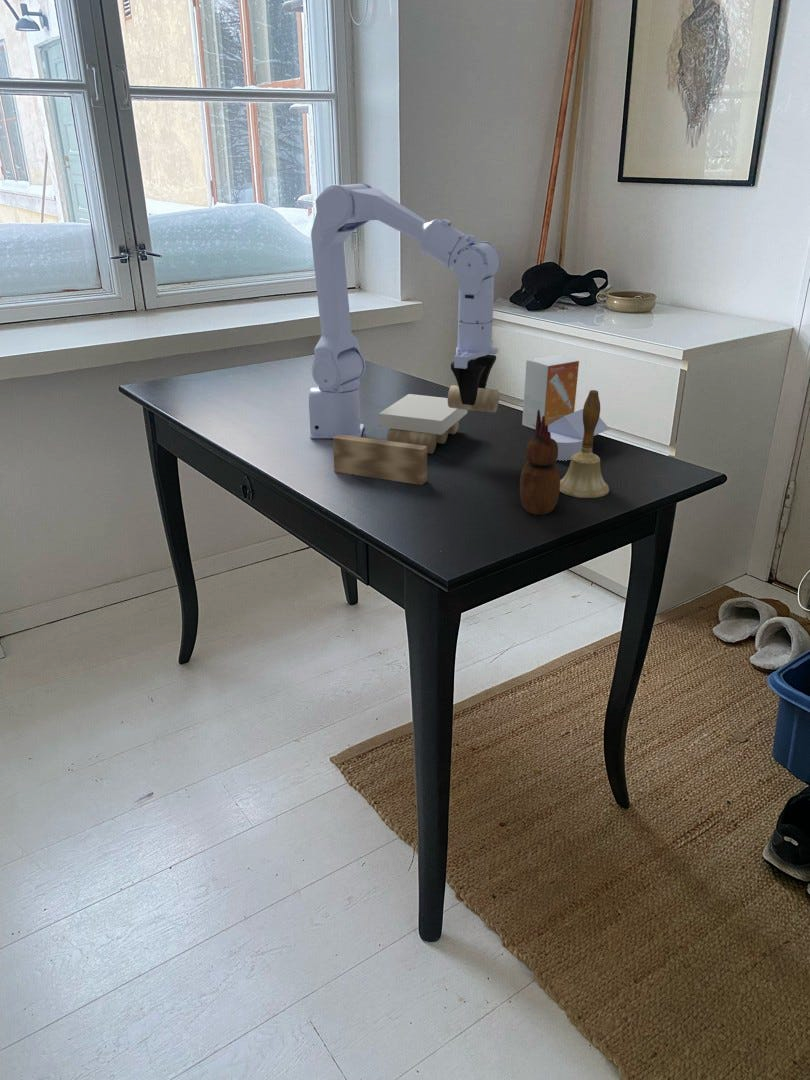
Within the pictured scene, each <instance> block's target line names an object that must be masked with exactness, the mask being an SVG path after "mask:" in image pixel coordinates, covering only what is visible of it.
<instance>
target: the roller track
mask: <svg viewBox="0 0 810 1080" xmlns="http://www.w3.org/2000/svg"><path fill="white" fill-rule="evenodd" d="M459 425H460V420H459V421H457V422H456V423H455V424H454V425H453V426H451V427H450V428H449V429H448V430H447V431H445V432H444V433H443V434H442V435H439V434H431V433H423V432H415V431H407V430H400V429H392V428H388V432H387V436H386V441H393V442H400V443H408V444H416V445H423V446H427V454H434V452H435V450H436V447H437V444H441V445H443V444H445V443H446V441H447V439H448V435H449V434H451V435H455V434H456V433H457V431H458V429H459Z"/></svg>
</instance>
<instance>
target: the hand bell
mask: <svg viewBox="0 0 810 1080" xmlns="http://www.w3.org/2000/svg"><path fill="white" fill-rule="evenodd" d="M582 409H583V425H584V436H583V443H582V447H581V451H580V452H579V453H576V454H574V455H573V456H572V458H571V461H569V466H568V469H567V472H566V473H565V475H564V476H563V477H562V478H560V492H559V493H562V494H563V495H566V496H570V497H573V498H580V499H596V498H601V497H604V496H607V494H609V492H610V488H609V485H608V483H606V481H605V480H604V478H603V476H602V472H601V471H602V470H601V469H602V468H601V458H600V457H599V456H598V455H597V454H595V453H593V447H594V430H595V427H596V425H597V423H598V420H599V417H600V414H601V402H600V396H599V391H598V390H595V389H592V390H589V392H588V394H587V397H586V400H585V401H584V405H583V408H582Z"/></svg>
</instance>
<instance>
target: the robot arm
mask: <svg viewBox="0 0 810 1080" xmlns="http://www.w3.org/2000/svg"><path fill="white" fill-rule="evenodd" d="M315 208H316V213H315V216H314V219H313V224H312V228H311V233H310V238H311V246H312V256H313V266H314V276H315V286H316V295H317V304H318V314H319V325H320V332H321V333H320V334H321V335H320V338H319V340H318V341H317V344H316V345H315V346H314V349H313V353H314V358H313V363H312V367H311V375H312V376H311V377H312V379H313V381H314V382H315V384H316V385H317V386H313V387H310V389H309V393H308V410H309V412H308V413H309V414H308V415H309V428H310V435H309V438H310V439H333V437H335V436H336V435H338V434H340V435H347V436H355V437H362V434H363V430H364V427H365V425H364V424H363V423H361V419H360V418H361V416H360V413H361V412H360V385H361V382H360V378H362V377H363V375H364V373H365V371H366V360H365V358H364V355H363V353H362V352H361V349H360V348H361V347H360V341H359V340H358V339H357V337H355V335H354V334H353V333H352V325H351V313H350V303H349V302H350V301H349V294H348V293H349V290H348V281H347V280H348V279H347V269H346V258H345V257H346V256H345V249H344V247H345V246H344V243H345V241H346V240H347V239H349V237H350V236H351V234H352V233H353V232H354V231H355V230H356V229H358V228H359V227H361V226H363V225H365V224H367V223H368V222H370V221H379V222H381V223H383V224H384V225H386V226H388V227H390V228H393V229H395V231H398V232H400V233H402V234H404V235H406V236H408V237H409V238H412V239H414V240H415V241H417V243H418V248H419V251H420V252H421V253H423V254H424V255H426V256H428V257H429V258H432V259H433V260H435V261H437V262H438V263H440V264H441V265H443V266H445V267H446V268H448V269H450V270H451V271H453V274H454V275H455V277H456V279H457V281H458V306H457V308H458V309H457V310H458V312H457V313H458V314H457V343H456V345H457V346H456V347H455V355H454V358H453V359H454V360H453V361H452V362H451V363H450V370H451V372H452V373H453V376H455V379H456V380H455V381H456V383H457V386H458V387H459V391H460V397H461V401H462V404H466V405H474V404H475V402H476V398H477V392H478V388H485V389H487V388H486V387H487V383H488V380H489V376H490V373H491V370H492V368H493V366H494V364H495V362H496V360H497V356H496V354H498V353H499V348H498V347H493V343H494V342H493V322H494V321H493V319H494V299H495V298H494V296H495V292H494V290H495V289H494V288H495V275H496V274H497V272H499V270H500V267H501V256H500V252H499V251H498V249H497V248H496V247H495V246H494V245H493V244H492V243H491V242H490V241H485V240H483V241H479V242H477V241H476V240H477V239H476V236H475V235H473V234H465V233H464V232H462V231H460V230H458V229H457V228H455V227H453V226H452V221H451V220H449V219H448V218H443V219H438V218H435V219H433V220H431V221H427V220H426V219H424V218H423V217H421V216H420V215H418V214H417V213H415V212H414V211H412V210H411V209H408V208H407V207H406V206H404V205H403V204H401V203H399V202H398V201H396V200H394V199H393V198H392V197H390V196H389V195H388V194H386V193H385V192H384V191H382V190H381V189H379V188H375V187H372V186H371V185H370V184H368V183H366V182H358V183H353V184H330V185H328V186H327V187H325V189H323V191H322V192H321V193H320V194H319V195H318V196H317V197H316V199H315Z"/></svg>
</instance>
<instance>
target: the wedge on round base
mask: <svg viewBox="0 0 810 1080" xmlns="http://www.w3.org/2000/svg"><path fill="white" fill-rule="evenodd" d="M608 430H610V428H609V426H608V425H607V424H606V423H605V422H604V420H603V419H602V418H601V417H600V416H599V420H598V423H597V425H596V427H595V430H594V436H597V435H599V434H601V433H604V432H606V431H608ZM548 432H550V433H551V438H552V439H554V440H555V441H556V443H557V444H558V458H557V460H559V461H561V460H562V461H561V462H568V461H567V460H571V458H572V456H573V455H574V454H576V453H579V452H580V451H581V447H582V443H583V436H584V425H583V408H582V409H579V410H577V411H576V410H575V411H574V413H571V414H568V415H566V416H563V417H562V418H560V419H558V420H556V421H555V422H553V423H551V424H549V425H548ZM557 460H556V461H557ZM564 460H565V461H564Z"/></svg>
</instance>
